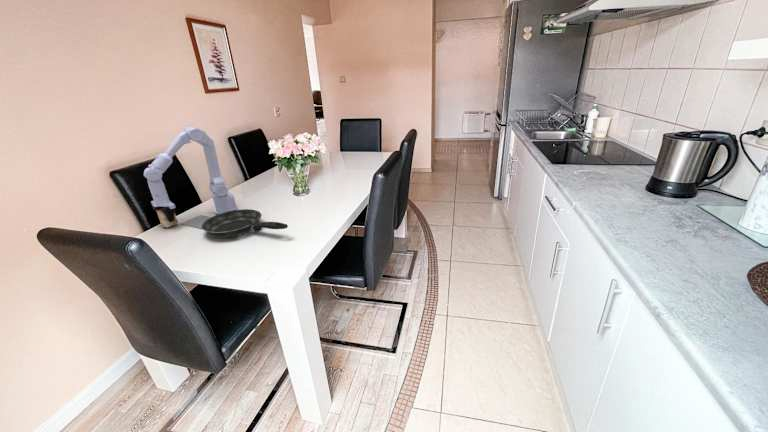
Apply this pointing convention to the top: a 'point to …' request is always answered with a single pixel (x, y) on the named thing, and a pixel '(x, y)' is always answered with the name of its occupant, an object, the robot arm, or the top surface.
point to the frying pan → (237, 223)
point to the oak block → (165, 219)
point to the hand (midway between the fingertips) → (168, 220)
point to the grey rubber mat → (196, 221)
